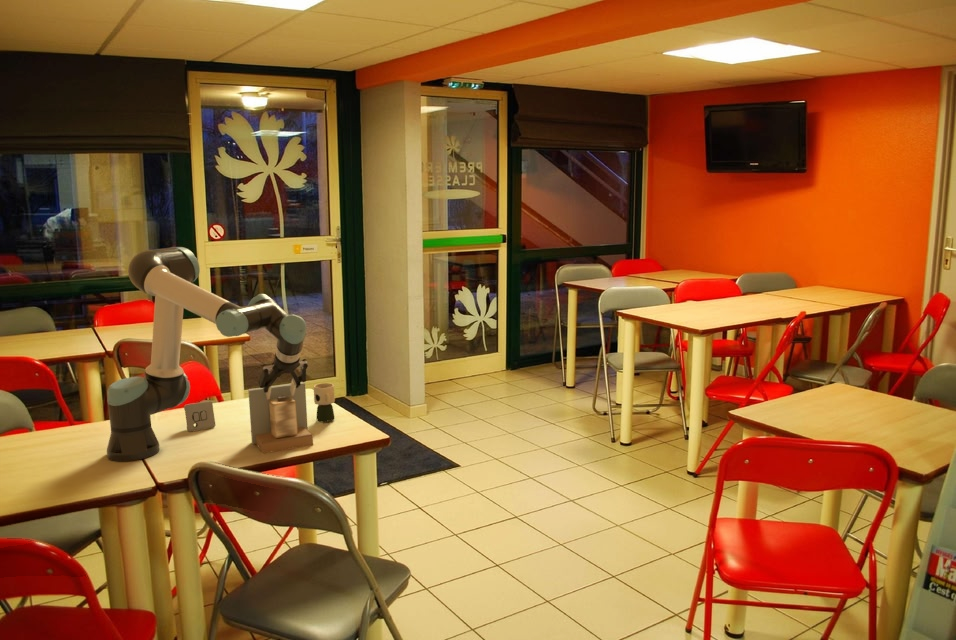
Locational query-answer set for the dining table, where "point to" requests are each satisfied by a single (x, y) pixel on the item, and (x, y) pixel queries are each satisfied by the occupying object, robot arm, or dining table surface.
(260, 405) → the grey panel display stand
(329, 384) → the character mug
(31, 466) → the dining table surface
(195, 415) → the electrical switch
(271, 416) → the tan canister
